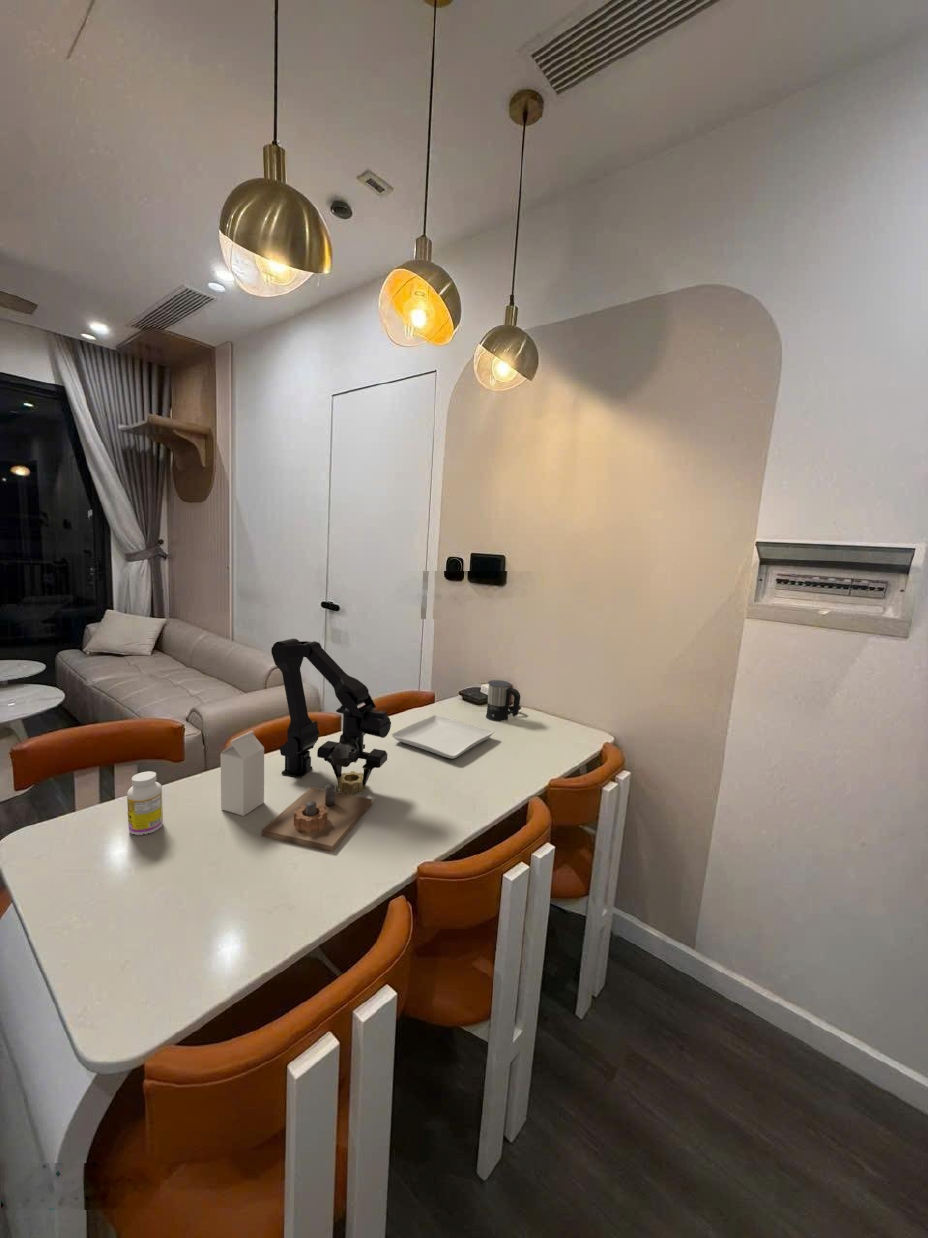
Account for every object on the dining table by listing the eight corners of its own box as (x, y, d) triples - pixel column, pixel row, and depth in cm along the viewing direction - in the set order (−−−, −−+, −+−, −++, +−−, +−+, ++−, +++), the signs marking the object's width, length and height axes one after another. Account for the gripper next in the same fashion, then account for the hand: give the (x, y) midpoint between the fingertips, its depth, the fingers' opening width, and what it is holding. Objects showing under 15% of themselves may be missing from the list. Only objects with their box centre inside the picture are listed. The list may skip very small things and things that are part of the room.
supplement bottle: (132, 822, 112) (130, 771, 110) (165, 818, 115) (164, 767, 113) (125, 839, 106) (122, 784, 104) (159, 834, 109) (158, 781, 107)
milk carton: (264, 803, 124) (264, 733, 121) (243, 817, 117) (243, 743, 114) (242, 796, 126) (242, 728, 123) (220, 810, 120) (219, 737, 117)
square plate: (495, 740, 175) (495, 730, 174) (453, 767, 152) (454, 755, 151) (434, 722, 189) (435, 712, 188) (388, 743, 166) (389, 733, 165)
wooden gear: (332, 791, 132) (333, 781, 131) (345, 779, 139) (345, 769, 138) (357, 796, 130) (358, 786, 129) (369, 783, 137) (369, 774, 137)
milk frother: (484, 720, 194) (486, 684, 192) (488, 707, 209) (491, 674, 207) (519, 724, 192) (522, 688, 190) (521, 711, 207) (524, 678, 205)
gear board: (261, 835, 110) (261, 809, 109) (311, 792, 131) (311, 769, 130) (332, 852, 106) (333, 825, 105) (372, 804, 127) (373, 781, 126)
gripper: (306, 735, 126) (305, 790, 128) (372, 746, 122) (370, 803, 124) (328, 720, 137) (327, 772, 139) (389, 730, 133) (386, 783, 135)
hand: (351, 782), depth 134 cm, fingers closed on wooden gear, 7 cm apart
